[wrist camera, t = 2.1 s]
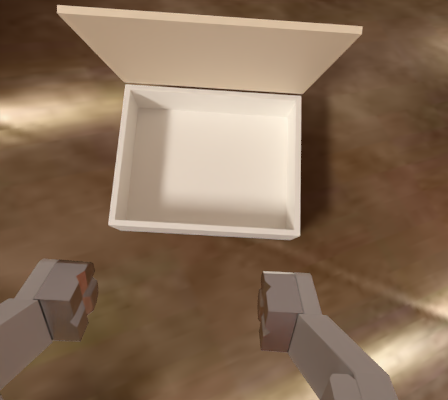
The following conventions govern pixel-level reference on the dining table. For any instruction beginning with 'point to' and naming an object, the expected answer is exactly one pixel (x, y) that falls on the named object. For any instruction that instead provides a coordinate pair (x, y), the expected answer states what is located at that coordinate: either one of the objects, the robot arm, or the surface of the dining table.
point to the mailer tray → (208, 163)
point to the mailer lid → (210, 48)
